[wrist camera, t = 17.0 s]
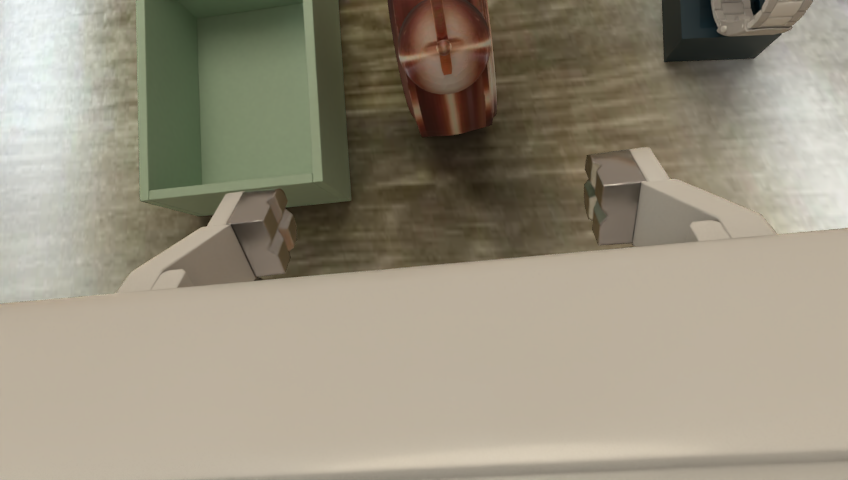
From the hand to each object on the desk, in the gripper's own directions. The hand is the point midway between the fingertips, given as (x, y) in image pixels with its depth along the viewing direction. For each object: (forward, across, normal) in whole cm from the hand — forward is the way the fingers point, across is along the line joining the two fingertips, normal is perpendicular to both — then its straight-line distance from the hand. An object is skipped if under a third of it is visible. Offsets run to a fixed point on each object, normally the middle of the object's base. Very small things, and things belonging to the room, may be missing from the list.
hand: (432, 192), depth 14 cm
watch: (+24, -17, +5) cm, 30 cm away
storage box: (+23, +13, +6) cm, 27 cm away
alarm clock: (+23, 0, +6) cm, 24 cm away
